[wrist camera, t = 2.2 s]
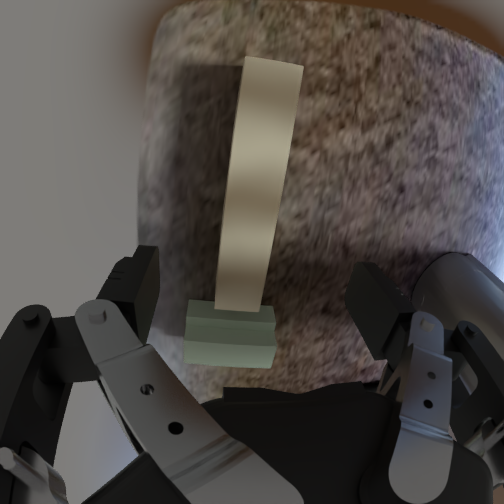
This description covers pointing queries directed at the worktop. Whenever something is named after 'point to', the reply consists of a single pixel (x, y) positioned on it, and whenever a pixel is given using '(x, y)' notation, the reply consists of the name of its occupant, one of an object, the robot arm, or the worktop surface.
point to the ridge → (229, 336)
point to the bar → (255, 179)
